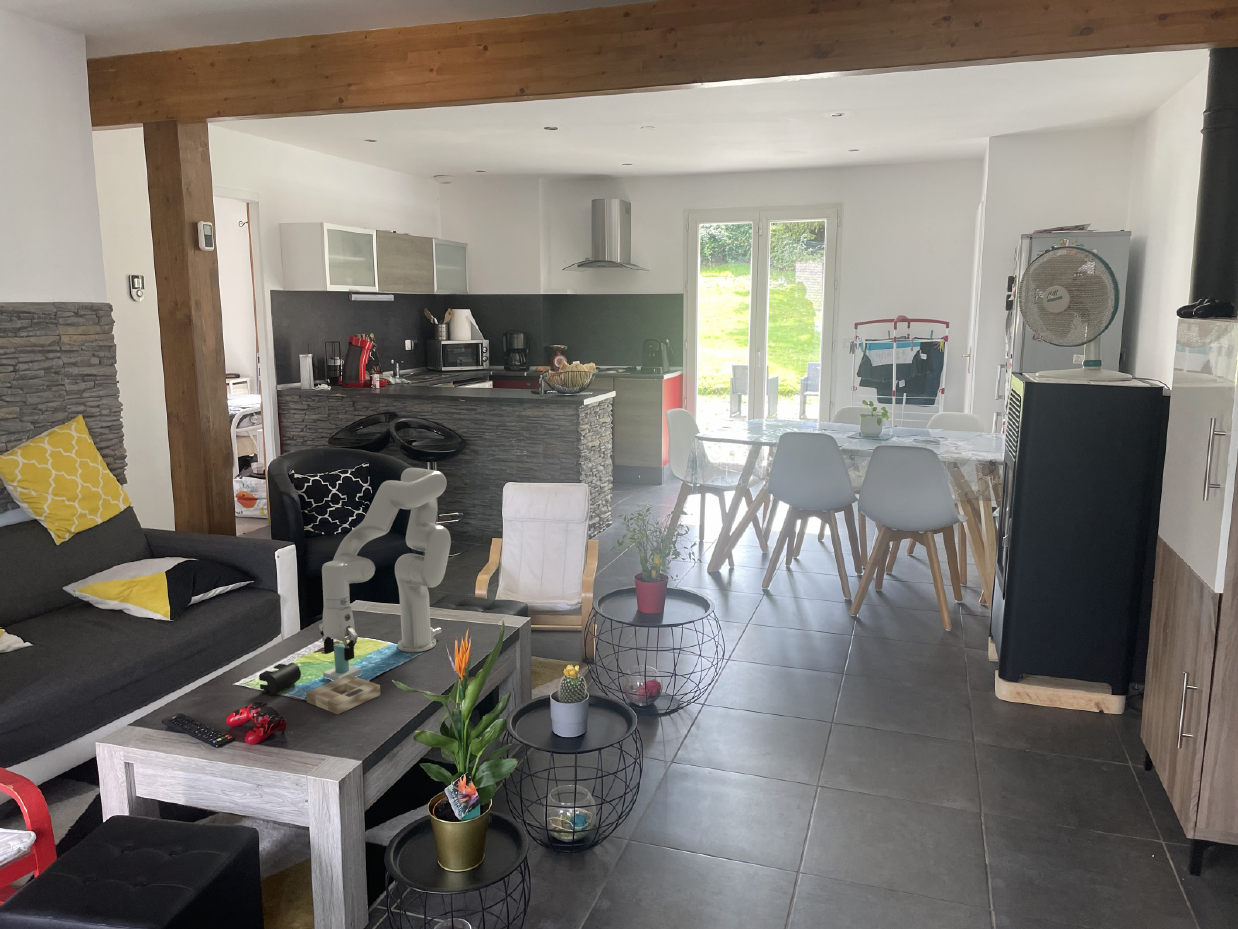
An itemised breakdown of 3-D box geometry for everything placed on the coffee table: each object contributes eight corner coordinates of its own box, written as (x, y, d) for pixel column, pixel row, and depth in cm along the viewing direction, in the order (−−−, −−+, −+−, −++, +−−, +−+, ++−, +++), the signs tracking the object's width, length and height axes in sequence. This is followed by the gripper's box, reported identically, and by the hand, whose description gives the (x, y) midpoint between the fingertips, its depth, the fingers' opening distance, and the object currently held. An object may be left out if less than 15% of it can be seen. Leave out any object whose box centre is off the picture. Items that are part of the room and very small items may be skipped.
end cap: (278, 698, 254) (276, 676, 253) (259, 694, 257) (257, 673, 256) (302, 684, 264) (300, 663, 262) (283, 681, 266) (281, 660, 265)
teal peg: (343, 667, 271) (341, 642, 269) (351, 670, 269) (350, 645, 267) (332, 671, 268) (330, 646, 266) (341, 674, 265) (339, 649, 264)
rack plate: (349, 683, 264) (349, 674, 263) (380, 695, 256) (379, 685, 255) (306, 702, 251) (306, 692, 251) (337, 714, 243) (336, 704, 243)
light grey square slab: (345, 669, 274) (344, 663, 274) (361, 675, 269) (361, 669, 269) (323, 678, 268) (323, 672, 267) (340, 684, 263) (339, 678, 263)
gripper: (365, 604, 262) (367, 658, 265) (329, 594, 272) (331, 646, 275) (344, 610, 256) (347, 666, 259) (308, 600, 266) (311, 653, 269)
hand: (339, 656), depth 267 cm, fingers open, 9 cm apart
